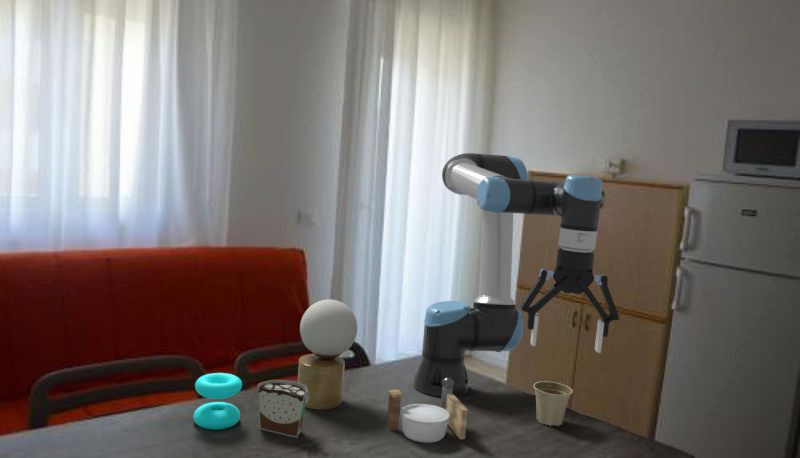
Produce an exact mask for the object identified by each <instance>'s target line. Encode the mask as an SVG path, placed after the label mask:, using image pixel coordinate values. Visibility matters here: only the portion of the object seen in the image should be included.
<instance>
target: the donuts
mask: <svg viewBox="0 0 800 458" xmlns="http://www.w3.org/2000/svg"><path fill="white" fill-rule="evenodd" d="M242 387H243V381H242V379H241V378H239V376H237V375H234V374H232V373H226V372H213V373H207V374H203V375H201V376H200V377H198V379H196V382H195V384H194V388H195V391H196V392H197V393H198V394H199V395H200V396H202V397H205V398H207V399H212V400H221V399H222V400H224V399H228V398H232V397H234V396H236V395H237V394H239V393H240V392H241V390H242ZM240 419H241V411H240V410H239V408H238V407H237V406H235V405H234V404H232V403H229V402H225V401H213V402H208V403H207V402H206V403H204V404H202V405H200V406H198V408H196V409H195V411H194V413H193V421H194V423H195V424H196V425H197V426H199V427H201V428H202V429H206V430H207V429H208V430H224V429H227V428H230V427H233V426H235V425H236V424H237V423H238V422H239V420H240Z"/></svg>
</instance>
